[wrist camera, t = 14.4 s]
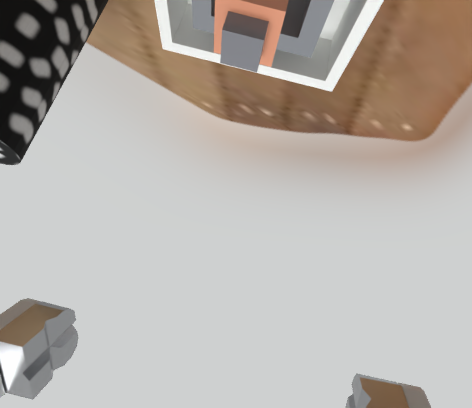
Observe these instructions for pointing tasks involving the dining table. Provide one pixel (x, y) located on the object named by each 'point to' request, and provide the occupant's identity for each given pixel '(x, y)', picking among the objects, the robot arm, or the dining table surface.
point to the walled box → (290, 40)
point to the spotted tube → (37, 63)
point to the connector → (248, 31)
